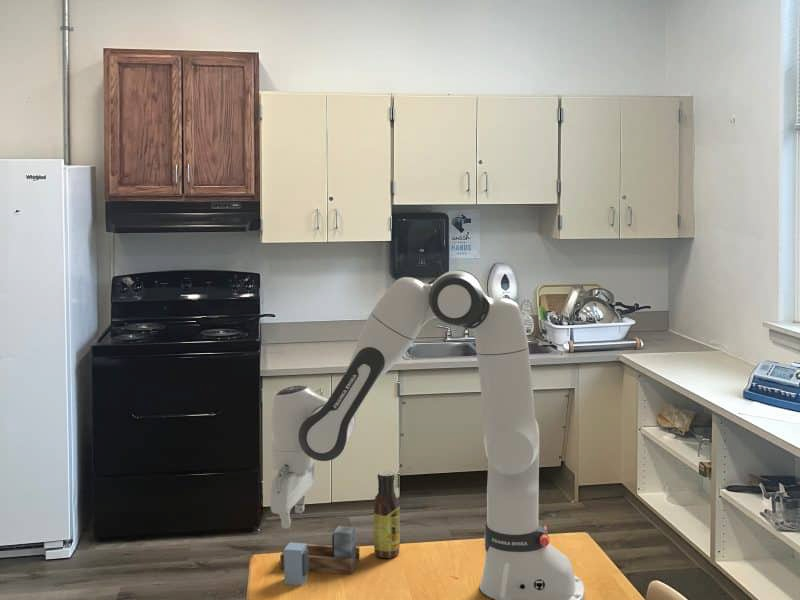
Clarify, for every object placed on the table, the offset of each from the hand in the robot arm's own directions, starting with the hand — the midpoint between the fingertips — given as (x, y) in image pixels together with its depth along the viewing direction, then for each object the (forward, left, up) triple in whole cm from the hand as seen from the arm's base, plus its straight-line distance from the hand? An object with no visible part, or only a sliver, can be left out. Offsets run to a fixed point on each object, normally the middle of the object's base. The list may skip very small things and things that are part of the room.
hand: (293, 519), depth 195 cm
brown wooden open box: (-3, -9, -14) cm, 17 cm away
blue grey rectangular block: (0, 0, -14) cm, 14 cm away
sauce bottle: (-17, -18, -14) cm, 29 cm away
